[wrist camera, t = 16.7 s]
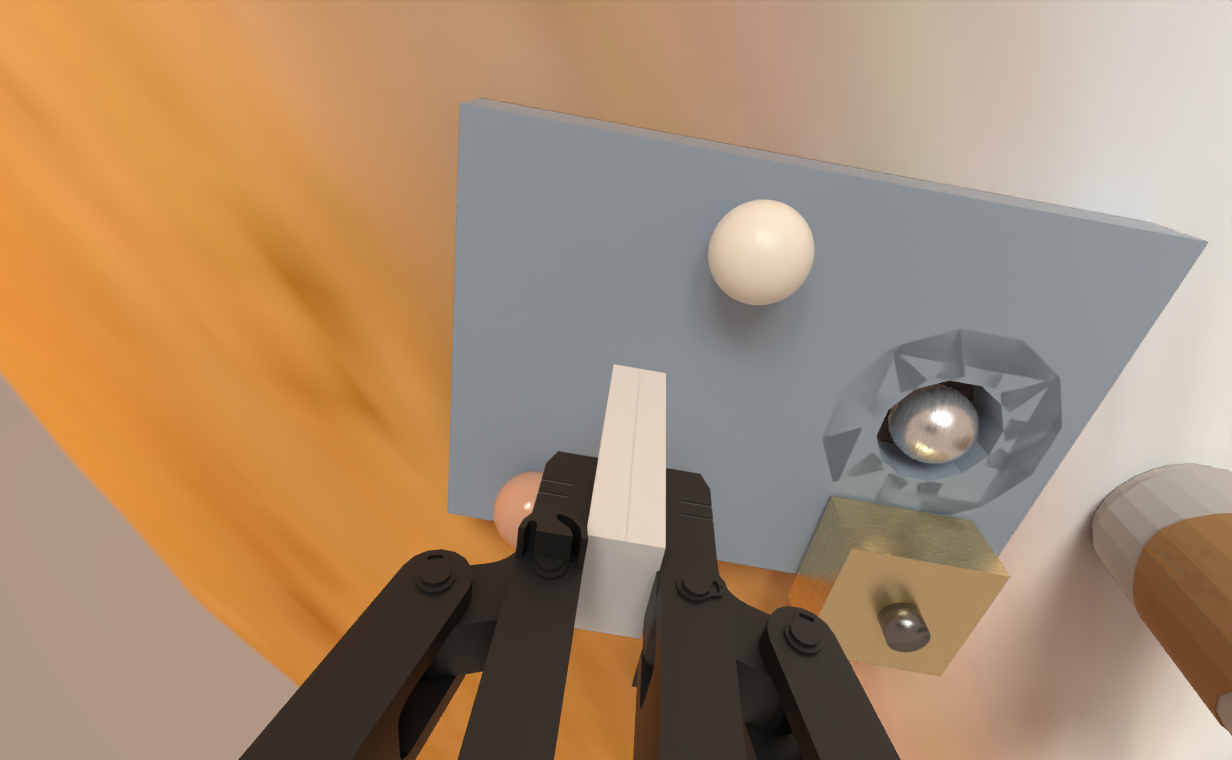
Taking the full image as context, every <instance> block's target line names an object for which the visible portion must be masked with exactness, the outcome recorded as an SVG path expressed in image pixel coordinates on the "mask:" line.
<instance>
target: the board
mask: <svg viewBox="0 0 1232 760" xmlns="http://www.w3.org/2000/svg"><path fill="white" fill-rule="evenodd" d="M753 200H775V201H779V202H782V203H784V204H787V205H788V206H790V207H792V208H793V209H795V210H796V211H797V212H798V213H800V215H801V216H802V217H803V218H804V219H805V221H806V222H807V224H808V226H809V228H810V230H811V232H812V235H813V239H814V250H815V254H814V261H813V264H812V267H811V270H810V272H809V274H808V276H807V278H806V280H805V281H804V282H803V284H802V285H801V286H800V287H799V288H798V289H797V290H796V291H795V292H794V293H793V294H791V295H790V296H788V297H787V298H785V299H783V300H781V301H779V302H776V303H772V304H768V305H749V304H745V303H742V302H739V301H737V300H735V299H733V298H731V297H730V296H728V295H727V294H726V293H725V292H724V291H723V290H722V289H721V288H720V287H719V286H718V285H717V283H716V282H715V280H714V278H713V276H712V273H711V271H710V267H709V262H708V248H709V242H710V239H711V236H712V234H713V232H714V229H715V228H716V226H717V225H718V223H719V222H720V221H721V219H722V218H723V217H724V216H725V215H726V214H727V213H728V212H730V211H731V210H732V209H734V208H735V207H737V206H739V205H741V204H743V203H746V202H749V201H753ZM1207 244H1208V242H1207V241H1204V240H1201V239H1198V238H1195V237H1192V236H1189V235H1186V234H1183V233H1180V232H1177V231H1174V230H1171V229H1169V228H1166V227H1163V226H1160V225H1157V224H1154V223H1150V222H1145V221H1140V220H1134V219H1129V218H1123V217H1118V216H1113V215H1107V214H1102V213H1096V212H1091V211H1086V210H1080V209H1075V208H1070V207H1064V206H1059V205H1053V204H1048V203H1043V202H1037V201H1032V200H1027V199H1021V198H1016V197H1010V196H1005V195H1000V194H994V193H989V192H984V191H978V190H973V189H967V188H962V187H957V186H951V185H946V184H941V183H935V182H930V181H924V180H919V179H914V178H908V177H903V176H898V175H892V174H887V173H881V172H876V171H871V170H865V169H860V168H855V167H849V166H844V165H838V164H833V163H828V162H822V161H817V160H812V159H806V158H801V157H795V156H790V155H785V154H779V153H774V152H769V151H763V150H758V149H752V148H747V147H742V146H736V145H731V144H726V143H720V142H715V141H709V140H704V139H699V138H693V137H688V136H683V135H677V134H672V133H666V132H661V131H656V130H650V129H645V128H639V127H634V126H629V125H623V124H618V123H613V122H607V121H602V120H596V119H591V118H586V117H580V116H575V115H570V114H564V113H559V112H553V111H548V110H543V109H537V108H532V107H527V106H521V105H516V104H510V103H505V102H500V101H494V100H489V99H484V98H480V99H476V100H471V101H466V102H462V103H460V112H459V146H458V180H457V214H456V248H455V282H454V316H453V350H452V383H451V417H450V451H449V485H448V513H450V514H456V515H462V516H468V517H473V518H479V519H485V520H490V521H494V517H493V508H494V502H495V499H496V496H497V494H498V492H499V491H500V489H501V488H502V486H503V485H504V484H505V483H506V482H507V481H508V480H510V479H511V478H512V477H514V476H516V475H518V474H520V473H523V472H528V471H540V472H544V469H545V465H546V463H547V462H548V461H549V460H550V459H551V458H552V457H553V456H554V455H555V454H556V453H557V452H558V451H561V452H567V453H573V454H579V455H585V456H591V457H597V458H598V452H599V446H600V440H601V435H602V429H603V423H604V417H605V412H606V406H607V400H608V395H609V389H610V383H611V377H612V372H613V366H614V364H615V365H621V366H627V367H633V368H638V369H644V370H650V371H656V372H662V373H666V468H670V469H675V470H681V471H687V472H693V473H699V474H701V475H702V477H703V478H704V480H705V482H706V483H707V485H708V486H709V488H710V492H711V502H712V507H711V508H712V513H713V523H714V534H715V544H716V555H717V560H719V561H724V562H730V563H736V564H742V565H747V566H753V567H759V568H764V569H770V570H776V571H782V572H787V573H793V574H797V572H798V570H799V568H800V565H801V563H802V561H803V559H804V556H805V554H806V552H807V550H808V547H809V545H810V543H811V541H812V538H813V536H814V534H815V532H816V529H817V527H818V525H819V523H820V520H821V518H822V516H823V514H824V511H825V509H826V507H827V505H828V502H829V500H830V498H831V496H836V497H842V498H848V499H853V500H859V501H865V502H870V503H876V504H882V505H887V506H893V507H898V508H904V509H910V510H915V511H921V512H927V513H932V514H938V515H944V516H949V517H955V518H960V519H966V520H972V521H974V523H975V524H976V526H977V527H978V529H979V530H980V532H981V533H982V535H983V536H984V538H985V539H986V541H987V542H988V544H989V545H990V547H991V548H992V550H993V551H994V553H995V554H996V556H997V557H998V556H999V554H1000V553H1001V551H1002V550H1003V548H1004V547H1005V545H1006V544H1007V542H1008V541H1009V539H1010V538H1011V536H1012V535H1013V533H1014V532H1015V530H1016V529H1017V527H1018V526H1019V524H1020V523H1021V521H1022V520H1023V518H1024V517H1025V515H1026V514H1027V512H1028V511H1029V509H1030V508H1031V506H1032V505H1033V503H1034V502H1035V500H1036V499H1037V497H1038V496H1039V494H1040V493H1041V491H1042V490H1043V488H1044V487H1045V485H1046V484H1047V482H1048V481H1049V480H1050V478H1051V477H1052V475H1053V474H1054V472H1055V471H1056V469H1057V468H1058V466H1059V465H1060V463H1061V462H1062V460H1063V459H1064V457H1065V456H1066V454H1067V453H1068V451H1069V450H1070V448H1071V447H1072V445H1073V444H1074V442H1075V441H1076V439H1077V438H1078V436H1079V435H1080V433H1081V432H1082V430H1083V429H1084V427H1085V426H1086V424H1087V423H1088V421H1089V420H1090V418H1091V417H1092V415H1093V414H1094V412H1095V411H1096V409H1097V408H1098V406H1099V405H1100V403H1101V402H1102V400H1103V399H1104V397H1105V396H1106V394H1107V393H1108V391H1109V390H1110V388H1111V387H1112V385H1113V384H1114V382H1115V381H1116V379H1117V378H1118V377H1119V375H1120V374H1121V372H1122V371H1123V369H1124V368H1125V366H1126V365H1127V363H1128V362H1129V360H1130V359H1131V357H1132V356H1133V354H1134V353H1135V351H1136V350H1137V348H1138V347H1139V345H1140V344H1141V342H1142V341H1143V339H1144V338H1145V336H1146V335H1147V333H1148V332H1149V330H1150V329H1151V327H1152V326H1153V324H1154V323H1155V321H1156V320H1157V318H1158V317H1159V315H1160V314H1161V312H1162V311H1163V309H1164V308H1165V306H1166V305H1167V303H1168V302H1169V300H1170V299H1171V297H1172V296H1173V294H1174V293H1175V291H1176V290H1177V288H1178V287H1179V285H1180V284H1181V282H1182V281H1183V279H1184V278H1185V276H1186V275H1187V273H1188V272H1189V271H1190V269H1191V268H1192V266H1193V265H1194V263H1195V262H1196V260H1197V259H1198V257H1199V256H1200V254H1201V253H1202V251H1203V250H1204V248H1205V247H1206V245H1207ZM949 380H950V381H956V382H962V383H967V384H972V389H973V399H972V401H971V403H972V404H973V406H974V408H975V410H976V412H977V415H978V419H979V431H978V436H977V438H976V441H975V442H974V444H973V446H972V447H971V448H970V449H969V450H968V452H966V453H965V454H964V455H963V456H961V457H960V458H958V459H956V460H953V461H950V462H947V463H941V464H929V463H924V462H920V461H917V460H915V459H912V458H910V457H909V456H907V455H906V454H904V453H903V452H902V451H901V450H900V449H899V448H898V447H897V446H896V444H895V443H891V442H885V441H881V440H879V439H878V438H877V436H876V435H877V433H878V431H879V429H880V427H881V425H882V423H883V420H884V418H885V416H886V414H887V412H888V410H889V409H890V408H891V407H893V406H894V405H895V404H897V403H898V402H899V401H901V400H902V399H903V398H904V397H906V396H907V395H908V394H910V393H911V392H912V391H914V390H915V389H918V388H922V387H926V386H930V385H934V384H937V383H941V382H945V381H949Z"/></svg>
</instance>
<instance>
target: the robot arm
mask: <svg viewBox="0 0 1232 760" xmlns="http://www.w3.org/2000/svg"><path fill="white" fill-rule="evenodd" d="M711 507H712V502H711V492H710V488H709V486H708V485H707V483H706V482H705V480H704V478H703V477H702V475H701V474H699V473H693V472H687V471H681V470H675V469H670V468H666V373H662V372H656V371H650V370H644V369H638V368H633V367H627V366H621V365H615V364H614V366H613V372H612V377H611V383H610V389H609V395H608V400H607V406H606V412H605V417H604V423H603V429H602V435H601V440H600V446H599V452H598V458H597V457H591V456H585V455H579V454H573V453H567V452H561V451H558V452H557V453H556V454H555V455H554V456H553V457H552V458H551V459H550V460H549V461H548V462H547V463H546V465H545V469H544V472H543V476H542V480H541V483H540V486H539V490H538V494H537V497H536V500H535V504H534V507H533V511H532V513H531V514H529V515H528V516H527V517H525V518H524V519H523V520H522V522H521V524H520V526H519V527H518V535H517V546H516V552H515V553H513V554H512V555H511V556H509V557H507V558H505V559H503V560H500V561H497V562H493V563H487V564H478V565H469V563H468V562H467V560H466V559H465V558H464V557H462V556H461V555H459V554H457V553H456V552H452V551H447V550H442V549H440V550H430V551H426V552H423V553H421V554H418V555H416V556H414V557H413V558H411V559H410V560H409V561H408V562H407V563H405V564H404V565H403V566H402V568H401V569H400V570H399V571H398V572H397V573H396V575H395V576H394V577H393V578H392V579H391V581H390V582H389V583H388V584H387V585H386V586H385V588H384V589H383V590H382V591H381V592H380V594H379V595H378V596H377V597H376V598H375V599H374V601H373V602H372V603H371V604H370V605H369V606H368V608H367V609H366V610H365V611H364V612H363V614H362V615H361V616H360V617H359V618H358V619H357V621H356V622H355V623H354V624H353V625H352V626H351V628H350V629H349V630H348V631H347V632H346V634H345V635H344V636H343V637H342V638H341V639H340V641H339V642H338V643H337V644H336V645H335V647H334V648H333V649H332V650H331V651H330V652H329V654H328V655H327V656H326V657H325V658H324V659H323V661H322V662H321V663H320V664H319V665H318V667H317V668H316V669H315V670H314V671H313V672H312V674H311V675H310V676H309V677H308V678H307V679H306V681H305V682H304V683H303V684H302V685H301V687H300V688H299V689H298V690H297V691H296V692H295V694H294V695H293V696H292V697H291V698H290V700H289V701H288V702H287V703H286V704H285V706H284V707H283V708H282V709H281V710H280V711H279V713H278V714H277V715H276V716H275V717H274V718H273V720H272V721H271V722H270V723H269V724H268V725H267V727H266V728H265V729H264V730H263V731H262V733H261V734H260V735H259V736H258V737H257V738H256V740H255V741H254V742H253V743H252V744H251V746H250V747H249V748H248V749H247V750H246V751H245V753H244V754H243V755H242V756H241V757H240V758H239V760H415V759H416V758H417V756H418V754H419V753H420V751H421V749H422V748H423V746H424V744H425V743H426V741H427V739H428V737H429V736H430V734H431V732H432V731H433V729H434V727H435V726H436V724H437V722H438V721H439V719H440V717H441V716H442V714H443V712H444V711H445V709H446V707H447V706H448V704H449V702H450V700H451V699H452V697H453V695H454V694H455V692H456V690H457V689H458V687H459V685H460V684H461V682H462V680H463V679H464V677H465V675H466V674H469V673H475V672H482V671H483V673H482V677H481V680H480V684H479V687H478V691H477V694H476V698H475V701H474V705H473V708H472V712H471V715H470V719H469V722H468V726H467V729H466V733H465V736H464V740H463V743H462V747H461V750H460V754H459V757H458V760H554V755H555V748H556V742H557V735H558V729H559V722H560V716H561V709H562V703H563V696H564V690H565V683H566V677H567V670H568V664H569V657H570V651H571V644H572V638H573V631H574V628H577V629H583V630H589V631H595V632H601V633H607V634H613V635H619V636H625V637H631V638H637V639H640V638H641V634H642V631H643V648H642V651H641V655H640V658H639V662H638V665H637V669H636V672H635V676H634V680H633V683H632V686H634V687H637V696H636V716H635V736H634V757H633V760H900V758H899V756H898V754H897V752H896V750H895V748H894V746H893V744H892V742H891V741H890V739H889V737H888V735H887V733H886V731H885V729H884V727H883V725H882V723H881V722H880V720H879V718H878V716H877V714H876V712H875V710H874V708H873V706H872V704H871V703H870V701H869V699H868V697H867V695H866V693H865V691H864V689H863V687H862V685H861V684H860V682H859V680H858V678H857V676H856V674H855V672H854V670H853V668H852V666H851V664H850V663H849V661H848V659H847V657H846V655H845V653H844V651H843V649H842V647H841V645H840V644H839V642H838V640H837V638H836V636H835V634H834V633H833V632H832V630H831V629H830V628H829V626H828V625H827V623H825V622H824V621H823V620H822V619H820V618H819V617H818V616H817V615H815V614H814V613H812V612H810V611H807V610H805V609H803V608H799V607H792V606H786V607H782V608H778V609H776V610H775V611H774V612H773V613H772V614H771V615H769V614H767V613H764V612H762V611H760V610H758V609H756V608H754V607H751V606H749V605H747V604H746V603H744V602H742V601H740V600H739V599H738V598H736V597H735V596H734V595H733V594H731V593H730V591H729V590H728V589H727V587H726V584H725V582H724V581H723V580H722V578H721V577H720V576H719V571H718V565H717V555H716V544H715V534H714V523H713V513H712V508H711Z"/></svg>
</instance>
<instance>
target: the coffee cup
mask: <svg viewBox="0 0 1232 760" xmlns="http://www.w3.org/2000/svg"><path fill="white" fill-rule="evenodd" d="M1091 528H1092V537H1093V547H1094V550H1095V552H1096V553H1097V555H1098V557H1099V559H1100V560H1101V562H1102V563H1103V564H1104V566H1105V567H1106V568H1107V570H1108V571H1109V572H1110V574H1111V575H1112V576H1113V578H1114V579H1115V580H1116V582H1117V583H1118V584H1119V586H1120V587H1121V588H1122V590H1123V591H1124V592H1125V594H1126V595H1127V596H1128V598H1129V599H1130V600H1131V602H1132V603H1133V604H1134V606H1135V607H1136V609H1137V611H1138V613H1139V615H1140V617H1141V618H1142V620H1143V621H1144V622H1145V624H1146V625H1147V626H1148V628H1149V629H1150V630H1151V632H1152V633H1153V634H1154V636H1155V637H1156V638H1157V640H1158V641H1159V643H1160V644H1161V645H1162V647H1163V648H1164V649H1165V651H1166V652H1167V653H1168V655H1169V656H1170V657H1171V659H1172V660H1173V661H1174V663H1175V664H1176V665H1177V667H1178V668H1179V669H1180V671H1181V672H1182V674H1183V675H1184V676H1185V678H1186V679H1187V680H1188V682H1189V683H1190V684H1191V686H1192V687H1193V688H1194V690H1195V691H1196V692H1197V694H1198V695H1199V696H1200V698H1201V699H1202V700H1203V702H1204V703H1205V704H1206V706H1207V707H1208V709H1209V710H1210V711H1211V713H1212V714H1213V715H1214V717H1215V718H1216V719H1217V721H1218V722H1219V723H1220V725H1221V726H1223V727H1224V728H1225V729H1227V730H1228V731H1229V733H1230V734H1231V735H1232V472H1231V471H1228V470H1224V469H1217V468H1212V467H1210V466H1205V465H1198V464H1177V465H1169V466H1165V467H1161V468H1157V469H1152V470H1150V471H1148V472H1145V473H1143V474H1140V475H1138V476H1135V477H1133V478H1132V479H1130V480H1128V481H1127V482H1125V483H1124V484H1122V485H1120V486H1119V487H1117V488H1116V489H1115V490H1114V491H1113V492H1112V493H1111V494H1109V495H1108V496H1107V497H1106V498H1105V499H1104V500H1103V502H1102V503H1101V505H1100V506H1099V507H1098V509H1097V510H1096V512H1095V515H1094V518H1093V521H1092V524H1091Z"/></svg>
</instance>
